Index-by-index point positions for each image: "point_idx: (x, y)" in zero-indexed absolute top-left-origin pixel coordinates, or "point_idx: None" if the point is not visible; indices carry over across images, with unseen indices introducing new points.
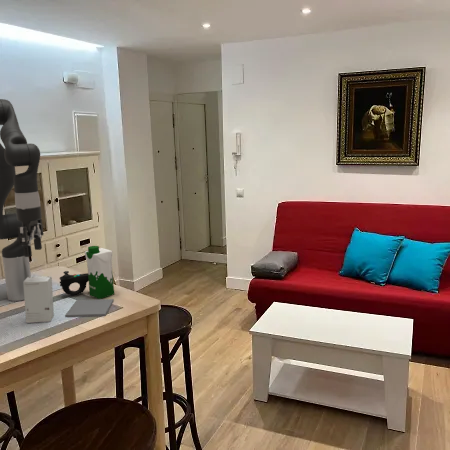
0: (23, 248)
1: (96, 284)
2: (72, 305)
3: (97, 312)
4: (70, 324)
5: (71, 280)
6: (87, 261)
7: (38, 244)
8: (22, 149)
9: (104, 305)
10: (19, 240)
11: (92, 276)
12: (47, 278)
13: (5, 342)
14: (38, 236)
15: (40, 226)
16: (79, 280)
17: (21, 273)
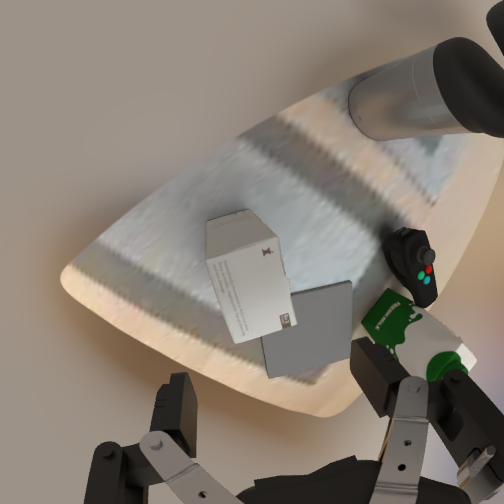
0: (163, 414)
1: (381, 337)
2: (317, 290)
3: (276, 362)
4: (216, 330)
5: (407, 268)
6: (432, 343)
7: (365, 381)
8: None
9: (315, 358)
10: (92, 478)
11: (395, 340)
12: (265, 328)
13: (104, 234)
14: (386, 432)
15: (458, 462)
16: (409, 284)
17: (406, 119)
